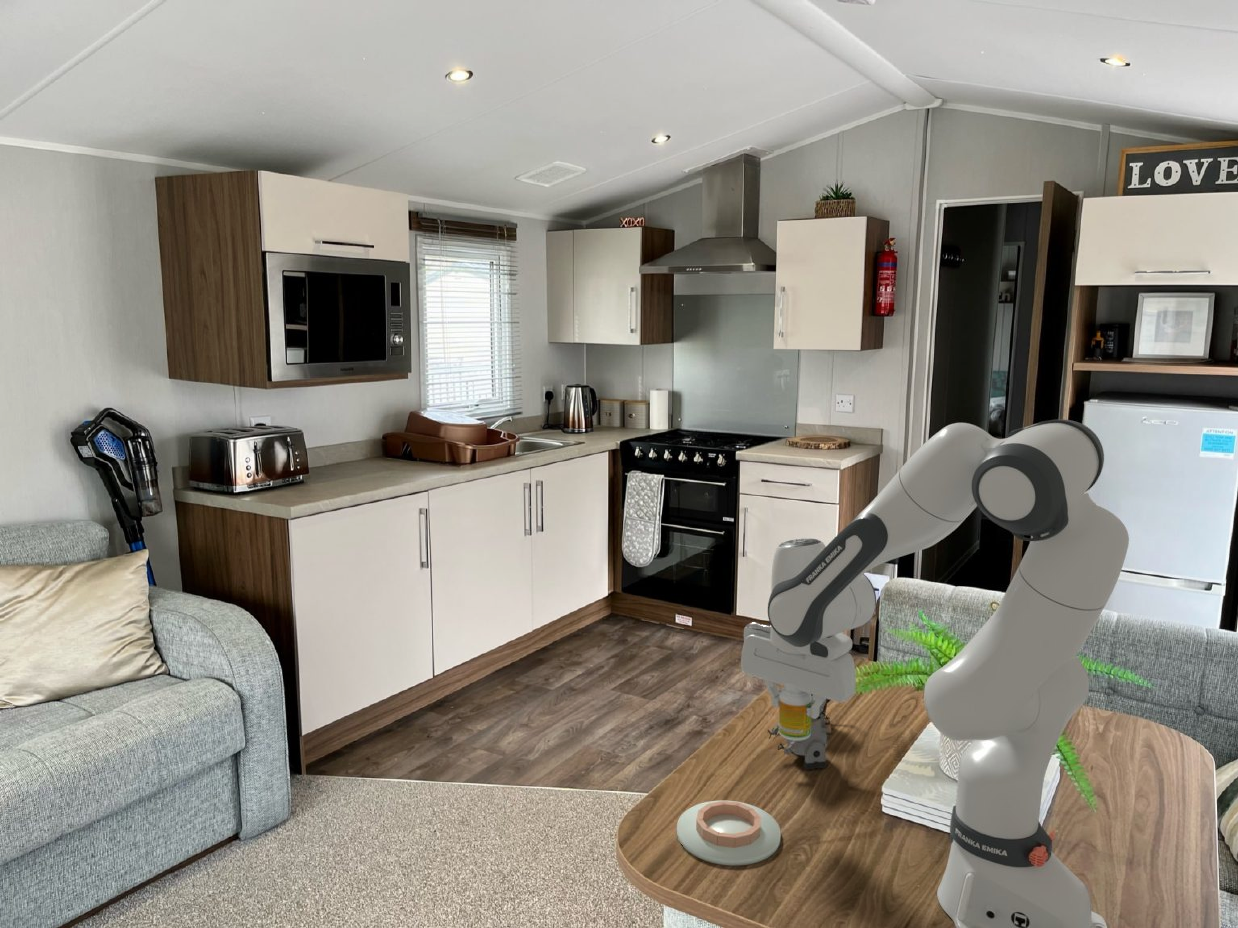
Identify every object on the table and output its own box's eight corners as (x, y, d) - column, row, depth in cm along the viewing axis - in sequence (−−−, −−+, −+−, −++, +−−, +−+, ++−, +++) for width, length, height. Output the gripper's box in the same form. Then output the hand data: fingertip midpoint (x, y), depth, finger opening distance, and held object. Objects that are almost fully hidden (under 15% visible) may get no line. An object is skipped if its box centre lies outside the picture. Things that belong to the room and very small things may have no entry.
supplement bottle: (810, 743, 154) (812, 688, 152) (778, 740, 155) (779, 685, 153) (810, 728, 159) (812, 675, 157) (779, 725, 160) (780, 672, 158)
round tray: (799, 831, 153) (800, 815, 153) (743, 879, 141) (743, 863, 140) (715, 795, 164) (716, 780, 164) (656, 837, 152) (656, 821, 151)
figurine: (760, 751, 180) (762, 679, 177) (815, 745, 182) (818, 674, 179) (777, 775, 171) (780, 699, 168) (835, 768, 173) (838, 694, 171)
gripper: (734, 624, 158) (733, 700, 160) (843, 653, 145) (840, 735, 147) (754, 615, 163) (753, 688, 165) (861, 642, 149) (858, 722, 152)
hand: (795, 711), depth 156 cm, fingers closed on supplement bottle, 5 cm apart
